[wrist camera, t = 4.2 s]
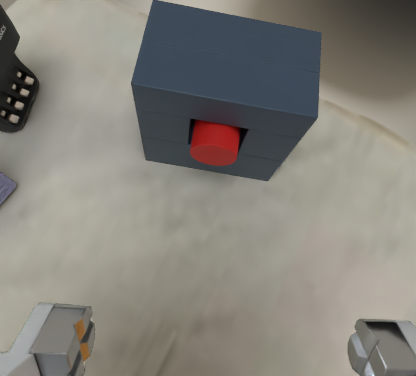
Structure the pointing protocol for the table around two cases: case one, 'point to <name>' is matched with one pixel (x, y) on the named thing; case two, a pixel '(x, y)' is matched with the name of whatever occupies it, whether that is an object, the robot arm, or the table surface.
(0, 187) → the cake pan box
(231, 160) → the button
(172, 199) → the table surface
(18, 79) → the battery charger
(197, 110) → the control box
